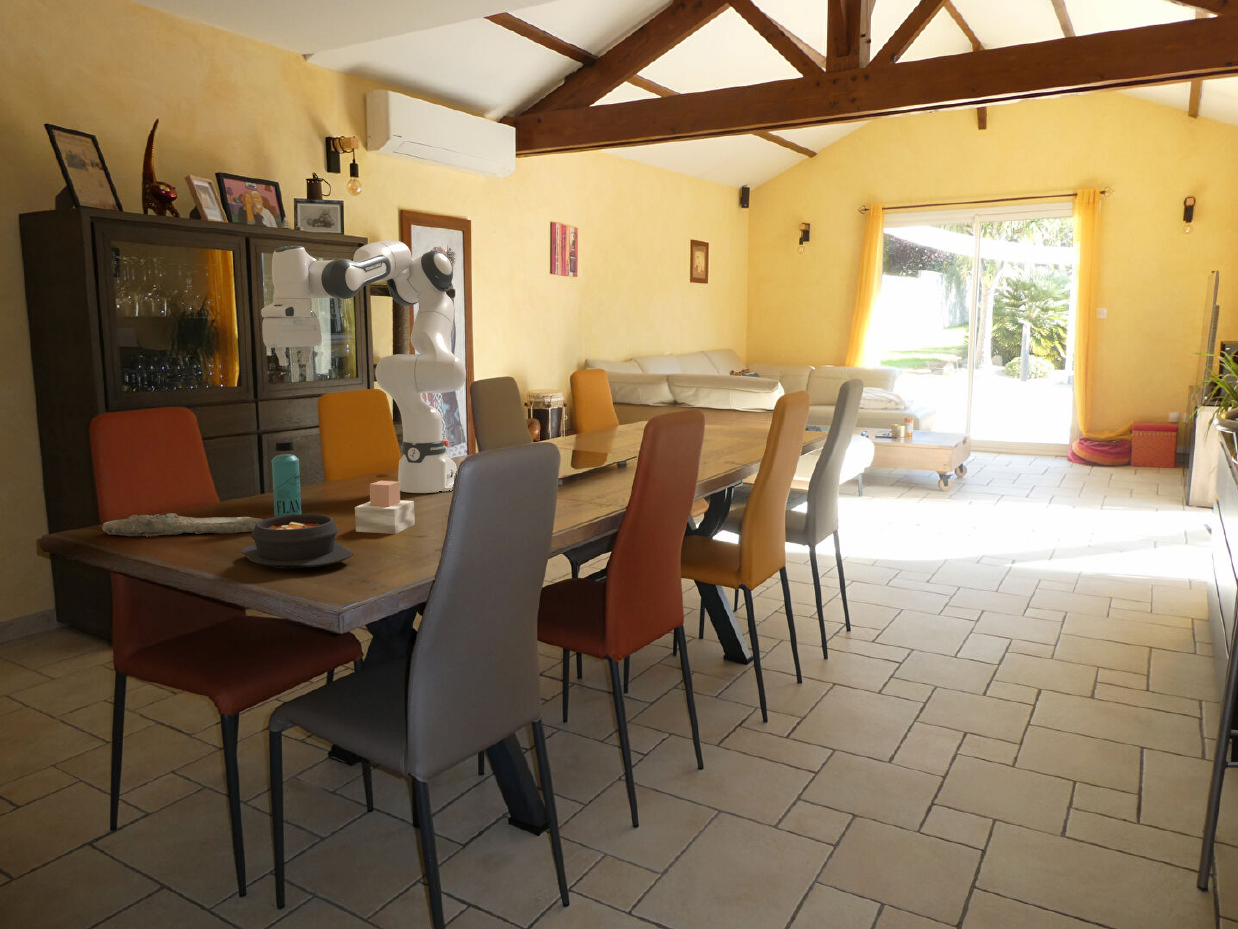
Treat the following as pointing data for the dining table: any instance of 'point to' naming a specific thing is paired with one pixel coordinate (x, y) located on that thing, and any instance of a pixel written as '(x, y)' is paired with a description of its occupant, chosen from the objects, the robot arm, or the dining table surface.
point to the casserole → (296, 542)
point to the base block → (384, 517)
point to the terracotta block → (384, 493)
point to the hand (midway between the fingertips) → (295, 364)
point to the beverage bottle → (286, 481)
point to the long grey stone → (178, 525)
